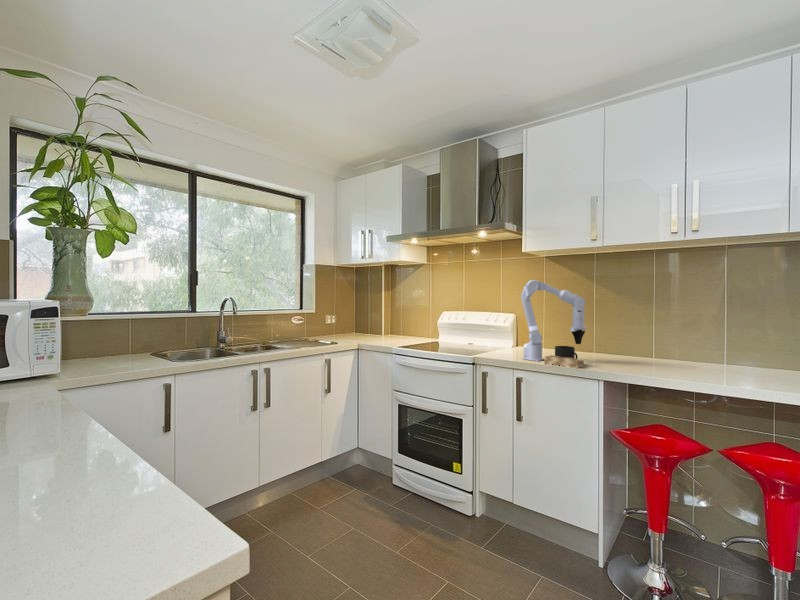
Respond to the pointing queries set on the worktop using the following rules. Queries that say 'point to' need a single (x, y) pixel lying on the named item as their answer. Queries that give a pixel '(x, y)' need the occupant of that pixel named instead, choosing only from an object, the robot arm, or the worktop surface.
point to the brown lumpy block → (563, 361)
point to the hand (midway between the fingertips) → (578, 344)
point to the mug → (565, 351)
